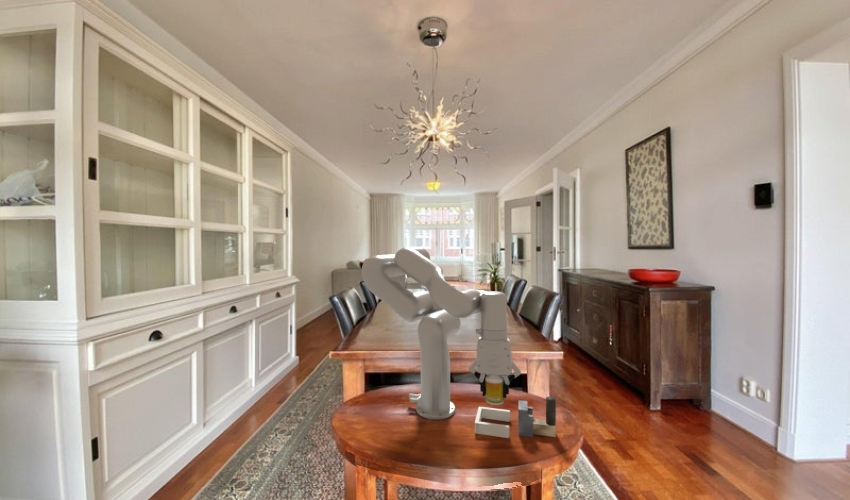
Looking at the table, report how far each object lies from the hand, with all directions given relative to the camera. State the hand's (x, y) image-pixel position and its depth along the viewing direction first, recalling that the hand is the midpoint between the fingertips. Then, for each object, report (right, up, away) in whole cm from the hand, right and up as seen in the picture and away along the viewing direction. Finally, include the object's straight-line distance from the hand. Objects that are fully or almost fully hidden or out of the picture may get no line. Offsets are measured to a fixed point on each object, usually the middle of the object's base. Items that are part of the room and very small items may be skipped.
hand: (494, 394), depth 99 cm
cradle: (0, -10, 0) cm, 10 cm away
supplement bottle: (0, -2, 0) cm, 2 cm away
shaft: (+12, -10, -3) cm, 16 cm away
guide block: (+8, -10, -2) cm, 13 cm away
